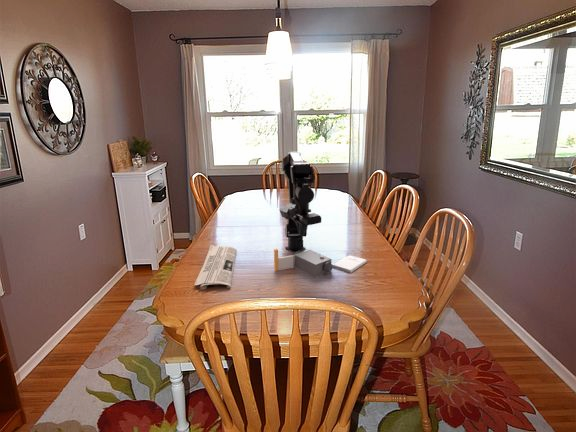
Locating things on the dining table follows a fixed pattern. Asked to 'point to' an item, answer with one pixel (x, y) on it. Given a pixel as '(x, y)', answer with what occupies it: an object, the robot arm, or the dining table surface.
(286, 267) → the side door
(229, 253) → the newspaper
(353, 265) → the external hard drive
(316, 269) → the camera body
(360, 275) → the dining table surface
